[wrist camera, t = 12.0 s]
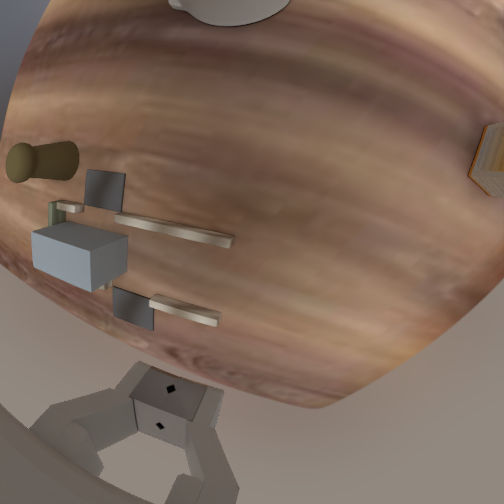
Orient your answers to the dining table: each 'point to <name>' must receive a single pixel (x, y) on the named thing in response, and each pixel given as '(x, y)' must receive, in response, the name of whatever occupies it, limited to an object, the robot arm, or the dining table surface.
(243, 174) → the dining table surface
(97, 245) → the grey brick
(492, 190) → the supplement box
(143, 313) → the lane
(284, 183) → the dining table surface
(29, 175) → the cork
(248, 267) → the dining table surface
